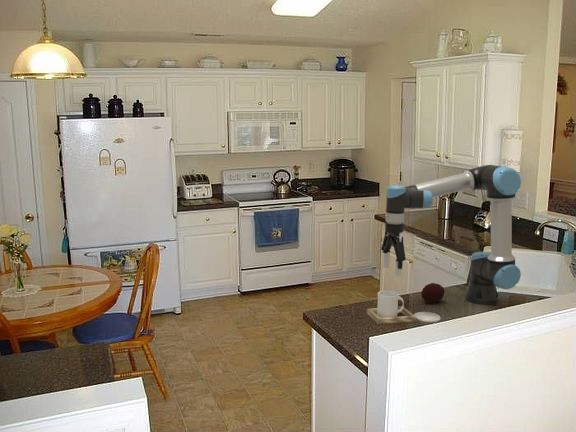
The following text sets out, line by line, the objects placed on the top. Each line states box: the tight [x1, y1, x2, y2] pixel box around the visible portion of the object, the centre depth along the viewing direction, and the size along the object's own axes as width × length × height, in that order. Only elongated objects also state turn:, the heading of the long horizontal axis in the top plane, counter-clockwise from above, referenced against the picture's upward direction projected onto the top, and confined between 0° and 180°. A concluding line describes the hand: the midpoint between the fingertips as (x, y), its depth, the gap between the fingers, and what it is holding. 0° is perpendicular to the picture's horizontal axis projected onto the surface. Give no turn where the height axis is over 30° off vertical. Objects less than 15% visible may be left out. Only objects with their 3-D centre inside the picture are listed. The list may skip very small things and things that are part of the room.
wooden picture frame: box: [366, 305, 417, 325], centre depth 236 cm, size 17×14×2 cm
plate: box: [413, 311, 441, 324], centre depth 235 cm, size 11×11×1 cm
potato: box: [421, 282, 446, 303], centre depth 255 cm, size 9×12×9 cm
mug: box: [376, 290, 405, 318], centre depth 235 cm, size 9×12×11 cm
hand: (392, 271), depth 233 cm, fingers open, 13 cm apart
